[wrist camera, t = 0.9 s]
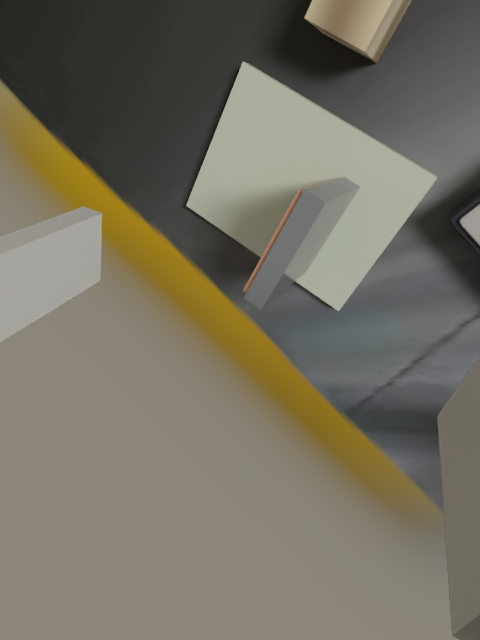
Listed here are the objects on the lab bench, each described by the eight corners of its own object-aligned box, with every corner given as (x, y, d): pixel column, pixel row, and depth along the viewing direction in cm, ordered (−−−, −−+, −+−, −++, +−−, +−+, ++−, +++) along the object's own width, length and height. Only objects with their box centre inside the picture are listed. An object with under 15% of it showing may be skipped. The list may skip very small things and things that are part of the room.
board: (438, 176, 33) (437, 177, 32) (341, 307, 40) (338, 311, 39) (248, 63, 36) (242, 61, 35) (192, 204, 43) (186, 205, 42)
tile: (360, 186, 34) (325, 202, 25) (306, 271, 39) (261, 310, 30) (340, 174, 35) (299, 185, 26) (289, 259, 40) (239, 295, 30)
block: (418, -12, 29) (412, -37, 25) (376, 63, 32) (364, 51, 28) (359, -42, 30) (344, -71, 26) (323, 33, 33) (304, 18, 29)
